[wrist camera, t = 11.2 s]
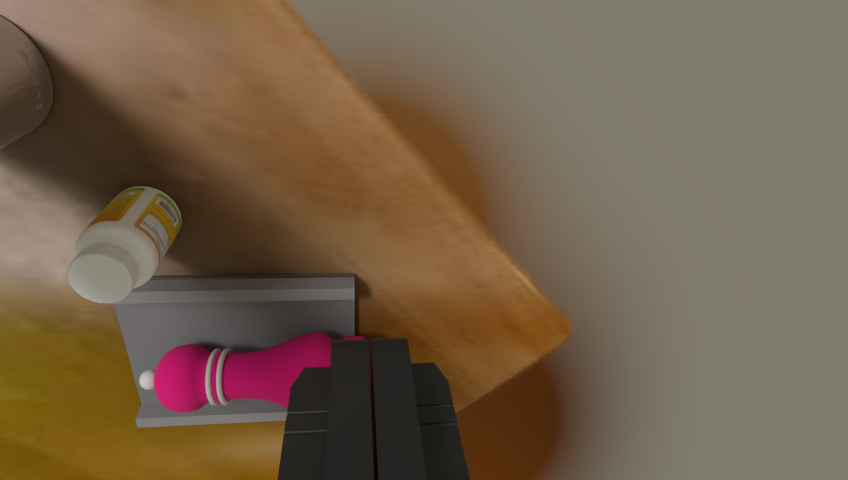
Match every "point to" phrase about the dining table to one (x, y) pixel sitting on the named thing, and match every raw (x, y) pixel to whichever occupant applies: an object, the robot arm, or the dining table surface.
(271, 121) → the dining table surface
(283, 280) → the gray open-ended tray
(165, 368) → the pepper mill
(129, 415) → the dining table surface
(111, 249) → the supplement bottle
